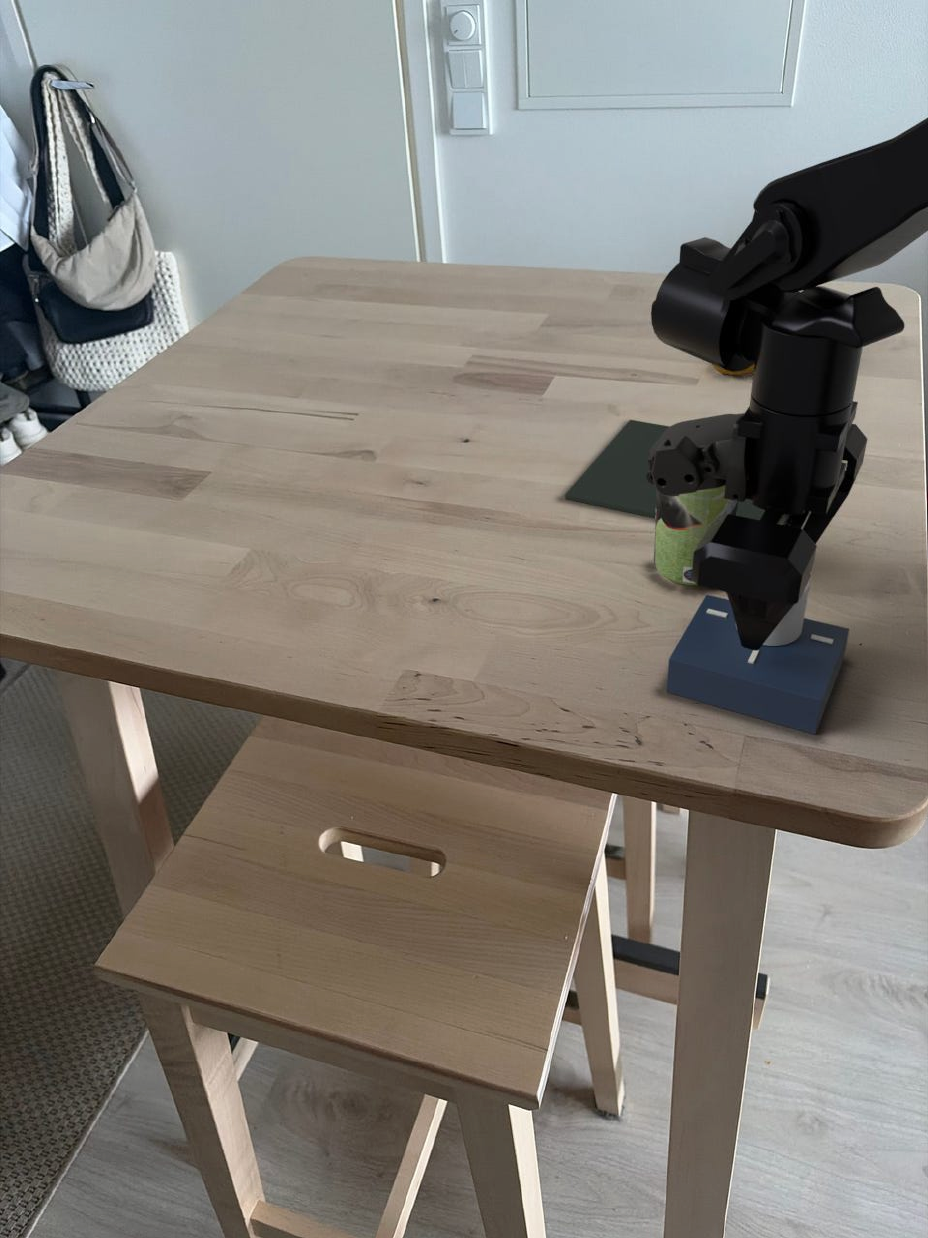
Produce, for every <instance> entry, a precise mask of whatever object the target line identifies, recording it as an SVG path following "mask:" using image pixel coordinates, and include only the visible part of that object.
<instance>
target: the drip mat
mask: <svg viewBox="0 0 928 1238" xmlns="http://www.w3.org/2000/svg"><path fill="white" fill-rule="evenodd" d="M670 426H671V425H665V424H658V423H652V422H648V421H640V420H634V419H629V421H628V422H627V423H626V424H625V425H624V426H623V427H622V428H621V430H619V432H618V433H617V434H616V435H615V436H614V438H613V439H612V440H611V441H610V443H609V444H608V445H607V446H606V447H605V448H604V449H603V450H602V452H601V453H600V454H598V456H597V457H596V459H595V460H593V462H592V463H591V464H590V465H589V466H588V468H586V470H585V471H584V472H583V473H582V475H581V476H579V478H578V479H577V480H576V481H575V483H574V484H573V485H572V486H571V487H570V488H569V489H568V490H567V492H566V493H565V495H564V499H565V500H569V501H573V502H579V503H583V504H587V505H593V506H597V507H602V508H606V509H612V510H616V511H621V512H625V513H630V514H633V515H635V514H636V515H640V516H644V517H649V518H654V519H655V509H656V487H655V485H654V484H651V483H649V482H648V481H647V478H646V475H647V473H648V472H649V463H648V460H647V459H648V458H649V456H650V455H651V454H650V449H651V448H652V446H653V445H654V444H655V443H656V442H657V440H658V439H659V438H660V437H661V435H662V434H663V433H664V432H665V430H666V429H667V428H669V427H670ZM764 512H765V510H763V509H760V508H758V507H756V506H754V505H752V500H749V499H746V500H745V501H744V502H739V501H738V508H737V516H741V517H746V518H751V519H755V520H760V519H761V517H762V515H763V514H764Z"/></svg>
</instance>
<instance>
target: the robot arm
mask: <svg viewBox="0 0 928 1238" xmlns="http://www.w3.org/2000/svg"><path fill="white" fill-rule="evenodd" d="M752 206H753V210H754V212H753V215H752V219H751V222H749V224H748V225H747V226H746V228H745V229H744V230H743V232H742V233H741V235H740V236H739V237H738V239H737V240H736V241H735V243H734V244H733V245H732V247H729V246H726V245H725V244H724V243H721V242H720V241H718V240H716V239H713V238H710V237H706V236H704V237H701V238H697V239H694V240H691V241H687V242H684V243H682V244H681V245H680V247H679V261H678V263H676V264H675V266H673V268H672V269H671V270H670V271H669V272H668V273H667V275H666V276H665V278H664V279H663V281H662V282H661V284H660V286H659V288H658V290H657V293H656V297H655V300H654V301H653V302H652V303H651V308H650V309H651V311H650V319H651V321H650V322H651V327H652V329H653V332H654V334H655V336H656V337H657V339H658V340H659V341H660V342H662V343H663V344H665V345H667V346H669V347H671V348H673V349H676V350H678V351H681V352H683V353H685V354H688V355H690V356H692V357H695V358H697V359H699V360H702V361H704V362H706V363H708V364H711V365H712V364H713V365H716V366H718V367H720V368H723V369H725V370H728V371H731V372H736V371H742V370H745V369H747V368H749V367H750V366H752V365H754V364H755V365H754V371H753V374H752V375H753V376H752V383H751V391H750V400H749V406H748V407H747V409H746V410H745V411H744V412H742V413H725V414H719V415H712V416H707V417H706V416H705V417H701V418H700V417H699V418H695V419H689V420H684V421H680V422H676V423H673V424H672V425H669V426H670V427H669V428H667V429H666V430H665V432H664V433H663V434H662V435H661V437H660V438H659V439H658V440H657V442H656V443H655V444H654V445H653V446H652V448H651V449H650V454H651V455H650V456H649V458H648V459H647V460H648V463H649V472H648V473H647V475H646V478H647V481H648V482H649V483H651V484H654V485H655V487H656V490H657V491H658V492H659V493H661V494H662V495H664V496H668V497H673V496H679V495H680V494H687V493H694V492H696V491H698V490H706V489H714V488H719V487H722V486H725V494H724V499H729V500H734V501H739V502H744V501H745V500H746V499H749V500H752V505H754V506H756V507H758V508H760V509H763V510H765V512H764V514H763V515H762V517H761V519H760V520H755V519H751V518H746V517H741V516H736V515H731V514H727V515H725V516H724V517H722V518H720V519H719V520H717V521H716V522H714V523H712V524H711V526H710V527H709V529H708V530H707V532H706V534H705V535H704V537H703V538H702V540H701V541H700V543H699V545H698V546H697V548H696V549H695V551H694V555H693V566H692V579H693V580H694V582H695V583H696V584H697V585H696V586H700V587H702V588H703V587H704V588H708V589H711V590H717V591H721V592H725V594H726V595H727V599H728V600H729V601H730V604H731V607H732V611H733V615H734V619H735V623H736V627H737V630H738V634H739V638H740V642H741V645H742V647H744V648H747V649H751V650H755V651H757V650H759V649H760V647H761V646H762V645H763V644H764V642H765V641H766V640H767V638H768V637H769V636H770V634H771V633H772V632H773V631H774V629H775V628H776V627H777V625H778V624H779V623H780V622H781V620H782V619H783V618H784V617H785V615H786V614H787V613H788V612H789V610H790V609H791V608H792V607H793V606H794V604H796V603H798V601H799V600H800V598H801V596H802V594H803V592H804V590H805V587H806V585H807V583H808V581H809V579H810V578H811V574H812V569H813V566H814V562H815V558H816V552H817V546H818V545H817V543H818V541H819V540H820V538H821V537H822V535H823V534H824V532H825V531H826V530H827V528H828V527H829V525H830V523H831V522H832V520H833V519H834V517H835V516H836V514H838V512H839V510H840V509H841V508H842V506H843V504H844V502H845V501H846V500H847V498H848V496H849V494H850V492H851V491H852V488H853V486H854V484H855V483H856V480H857V477H858V474H859V473H860V470H861V468H862V466H863V464H864V460H865V454H866V449H867V444H868V437H867V436H866V435H865V434H864V432H863V431H862V430H861V429H860V428H859V426H858V425H857V424H856V423H853V422H854V420H855V418H856V415H857V414H856V413H857V410H858V405H859V404H858V403H859V401H854V397H855V392H856V386H857V381H858V375H859V370H860V363H861V359H862V354H863V348H864V347H866V346H870V345H872V344H875V343H877V342H880V341H882V340H885V339H889V338H890V337H893V336H895V335H898V334H900V333H902V332H903V331H904V329H905V326H906V325H905V322H904V320H903V319H902V317H901V316H900V314H899V313H898V311H897V310H896V309H895V307H892V305H890V304H889V303H888V301H887V300H886V299H885V297H884V294H883V292H882V289H881V288H880V287H879V286H873V287H870V288H868V289H865V290H862V291H858V292H856V293H853V294H849V293H846V292H843V291H841V290H840V291H839V290H836V289H833V288H830V287H827V286H822V285H824V284H827V283H830V282H833V281H836V280H839V279H843V278H845V277H848V276H851V275H854V274H857V273H860V272H863V271H866V270H868V269H872V268H875V267H878V266H881V264H884V263H886V262H887V261H889V260H890V259H891V258H893V257H894V256H895V255H897V254H898V253H900V252H901V251H903V249H906V248H907V247H908V246H910V244H912V243H913V242H915V241H916V240H917V239H919V238H921V236H923V235H924V234H926V233H927V232H928V117H926V118H924V119H923V120H921V121H919V122H918V123H916V124H914V125H913V126H911V127H909V128H908V129H906V130H905V131H903V132H901V133H900V134H898V135H897V136H895V137H892V138H890V139H887V140H884V141H881V142H879V143H875V144H873V145H871V146H867V147H865V148H861V149H859V150H855V151H852V152H849V153H847V154H843V155H841V156H838V157H834V158H832V159H828V160H826V161H822V162H820V163H817V164H814V165H811V166H808V167H806V168H803V169H800V170H797V171H794V172H791V173H789V174H787V175H783V176H781V177H778V178H776V179H773V180H771V181H770V182H768V183H767V184H766V185H765V186H764V187H763V188H762V189H761V190H760V191H759V193H758V194H757V196H756V198H754V201H753V205H752ZM713 365H712V366H713ZM843 461H845V462H843Z"/></svg>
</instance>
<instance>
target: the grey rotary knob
mask: <svg viewBox="0 0 928 1238" xmlns="http://www.w3.org/2000/svg"><path fill="white" fill-rule="evenodd" d="M810 587H811V580H810V579H809V581H808V583H807V585H806V587H805V590H804V592H803V594H802V596H801V598H800V600H799V601H798V603H796V604H794V606H793V607H792V608H791V609H790V610H789V612H788V613H787V614H786V615H785V617H784V618H783V619H782V620H781V622H780V623H779V624H778V625H777V627H776V628H775V629H774V631H773V632H772V633H771V634H770V636H769V637H768V638H767V640H766V641H765V642H764V644H763V645H766V646H781V645H786V644H789V643H791V642H793V641H795V640H796V639H797V638H798V637H799V636H800V634H801V632H802V627H803V621H804V618H805V614H806V609H807V604H808V597H809V592H810ZM735 624H736V623H735ZM736 628H737V627H736Z"/></svg>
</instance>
